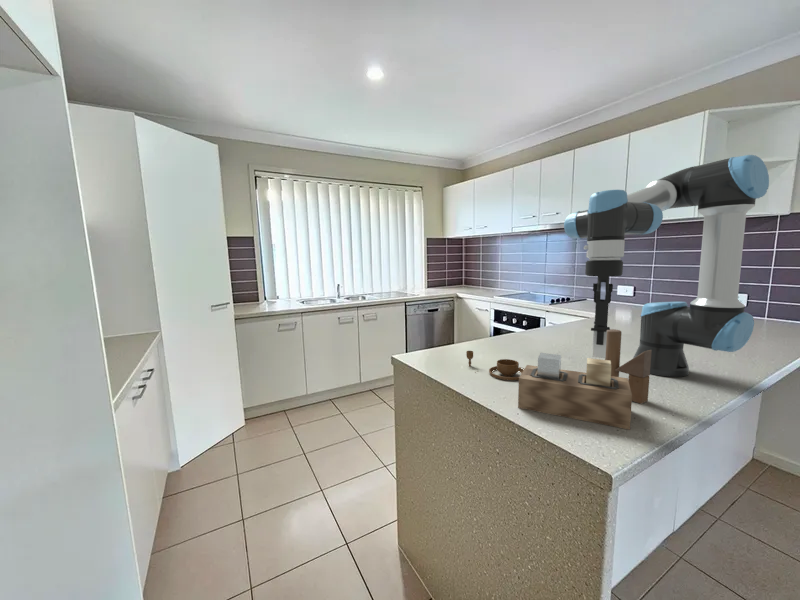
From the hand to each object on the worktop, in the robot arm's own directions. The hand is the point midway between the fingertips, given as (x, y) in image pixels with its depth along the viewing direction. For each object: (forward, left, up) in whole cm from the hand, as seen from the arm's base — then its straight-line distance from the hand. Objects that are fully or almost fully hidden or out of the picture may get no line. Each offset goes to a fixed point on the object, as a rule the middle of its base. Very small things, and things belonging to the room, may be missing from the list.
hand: (598, 356), depth 81 cm
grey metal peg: (+11, 0, -9) cm, 14 cm away
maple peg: (0, 0, -8) cm, 8 cm away
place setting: (+29, -21, -15) cm, 38 cm away
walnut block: (+5, 0, -14) cm, 15 cm away
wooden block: (-7, -15, -15) cm, 22 cm away
